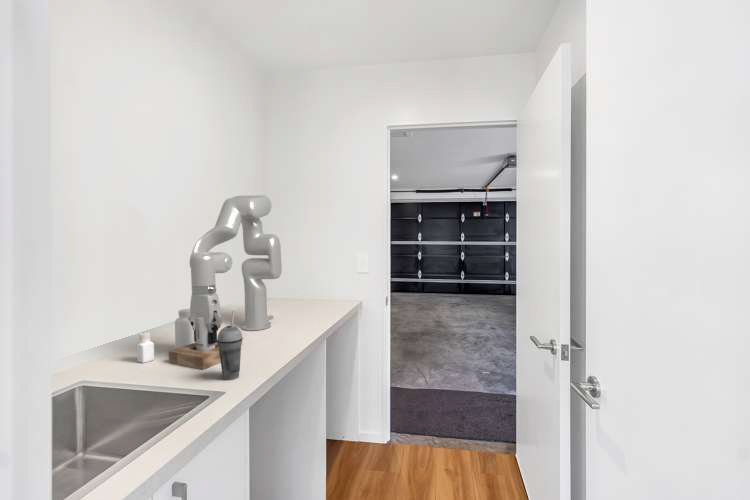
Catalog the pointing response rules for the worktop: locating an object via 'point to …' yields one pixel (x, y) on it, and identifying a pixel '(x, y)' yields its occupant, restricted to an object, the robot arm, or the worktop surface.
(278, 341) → the worktop surface
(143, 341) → the pepper shaker
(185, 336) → the pill bottle
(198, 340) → the energy drink can
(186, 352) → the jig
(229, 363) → the beverage cup
